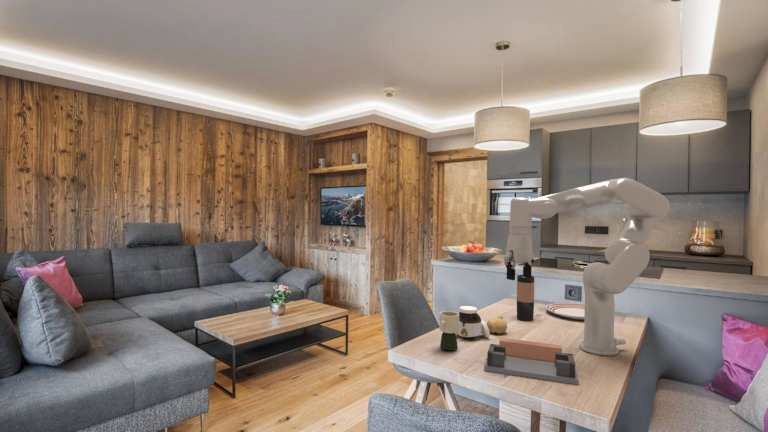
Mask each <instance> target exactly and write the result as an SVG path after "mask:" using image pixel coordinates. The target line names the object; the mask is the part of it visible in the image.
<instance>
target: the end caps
mask: <svg viewBox="0 0 768 432" xmlns="http://www.w3.org/2000/svg"><path fill="white" fill-rule="evenodd" d="M506 357H507V355H506V346H504V345H499V344H495V343H490V345H489V347H488V351H487V356H486V359H487V365H488V366H495V367H502V368H504V360H505V359H506ZM554 363H555V367H556V375H558V376H564V377H571V378H575V368H576V361H575V359H574V355H573V353H567V352H562V353H560V352H555V362H554Z"/></svg>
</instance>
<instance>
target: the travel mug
mask: <svg viewBox="0 0 768 432" xmlns="http://www.w3.org/2000/svg"><path fill="white" fill-rule="evenodd" d="M516 276H517V277H516V278H517V279H516V319H517V320H518V321H521V322H533V321H534V313H535V312H534V311H535V310H534V309H535V276H533V275H531V278H526V277H523V274H518V275H516Z"/></svg>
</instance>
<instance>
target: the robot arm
mask: <svg viewBox="0 0 768 432" xmlns="http://www.w3.org/2000/svg"><path fill="white" fill-rule="evenodd" d="M616 203H625V204H624V211H625V214H626V223H625V226H624V228H623V229H622V230H621V231H620V233H619V234H618V235H617V236H616V237H615V239H613V241H612V242H611V243H610V244H609V245H608V246H607V247H606V249H605V251H604V256H605V259H606V261H607V262H608V263H610V264H608V263H605V262H598V261H596V262H592V263H590V264H587V266H585V268H584V270H583V272H582V282H583V283H582V284H583V288H584V289H583V290H584V304H585V313H584V320H583V322H584V323H583V324H584V325H583V326H584V327H583V329H584V330H583V341H581V342H579V345H578V348H580V349H581V350H582V351H584V352H587V353H589V354H594V355H599V356H615V355H618V354H619V348H618V347H617V346H618V345H620V346H621V345H626V340H625V339H624V338H619V339H618V338H617V337H615V310H616V309H615V305H616V304H615V296H614V295H618V294H622V293H623V292H625V291H626V290H627V289H629V287H630V286H631V285H632V284H633V283H634V281H636V279H638V277H639V276H640V275H641V274H642V273H643V272H644V270H645V269H646V268H647V267H648V264H649V262H650V257H651V256H650V251H649V249H648V248H647V246H646V244H647V243H648V242H649V240H650V238H651V237H652V234H653V221H652V220H656V219H661V218H663V217H665V216H666V215H667V214H668V212H670V211H669V210H670V202H669V200H668V199H667V197H666V196H664V195H663V194H662V193H659V192H658V191H656V190H654V189H652V188H651V187H648V186H647V185H645V184H643V183H641V182H639V181H637V180H635V179H632V178H629V177H621V178H612V179H608V180H604V181H599V182H595V183H591V184H588V185H586V184H585V185H582V186H579V187H575V188H571V189H567V190H564V191H560V192H556V193H552V194H548V195H543V196H539V197H535V198H530V197H514V198H511V200H510V205H509V206H510V209H509V210H510V211H509V212H510V213H509V214H510V215H509V234H508V237H507V241H506V247H505V248H506V249H505V255H504V256H503V257H502V258H503V261H504V265H505V269H506V280H510V281H515V280H516V269H515V267H516V265H517V264H523V266H522V275H523V277H526V278H531V276H532V267H534V266H533V264H534V260H535V256H536V254H534V253H533V240H532V239H533V238H532V226H533V225H532V223H533V222H532V221H533V218H534V219H550V218H552V217H554V216H555V215H556V214H559V213H560V214H561V213H569V212H581V211H586V210H590V209H593V208H598V207H603V206H607V205H611V204H616Z"/></svg>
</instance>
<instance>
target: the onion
mask: <svg viewBox="0 0 768 432" xmlns="http://www.w3.org/2000/svg"><path fill="white" fill-rule="evenodd" d="M486 325H487V326H488V329H489V332H490V334H491V333H492V334H493V335H494V334H495V333H496V334H498V335H501V334H505V333H506V332H507V330H508V323H507V321H506V320H505V319H504V316H502V314H500V316H492V317H490V318H489V319H488V320H487V322H486Z"/></svg>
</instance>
